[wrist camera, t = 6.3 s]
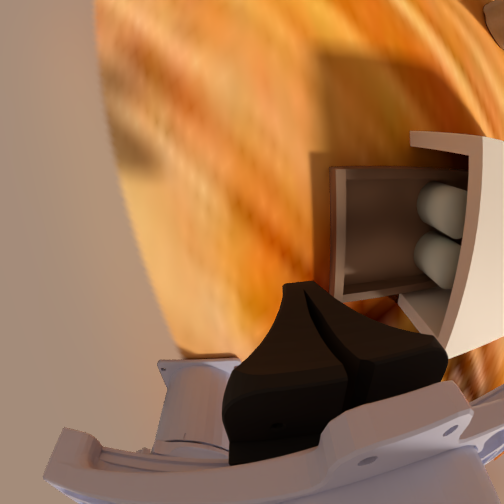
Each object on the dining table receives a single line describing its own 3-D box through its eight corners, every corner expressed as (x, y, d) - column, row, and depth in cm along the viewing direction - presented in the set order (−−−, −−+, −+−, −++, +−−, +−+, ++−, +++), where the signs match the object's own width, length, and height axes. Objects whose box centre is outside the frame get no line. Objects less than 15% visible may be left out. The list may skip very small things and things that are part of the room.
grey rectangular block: (472, 287, 23) (517, 329, 15) (397, 303, 23) (440, 361, 15) (490, 142, 17) (554, 156, 10) (409, 130, 17) (482, 136, 10)
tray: (455, 270, 23) (467, 280, 21) (326, 289, 23) (333, 303, 21) (467, 168, 19) (483, 173, 17) (326, 165, 19) (335, 169, 17)
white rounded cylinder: (440, 268, 22) (462, 286, 18) (410, 271, 21) (432, 291, 18) (447, 231, 20) (473, 245, 17) (417, 231, 20) (442, 246, 17)
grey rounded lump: (448, 220, 20) (474, 234, 16) (416, 227, 20) (442, 242, 17) (448, 179, 18) (476, 188, 15) (416, 183, 19) (444, 192, 15)
